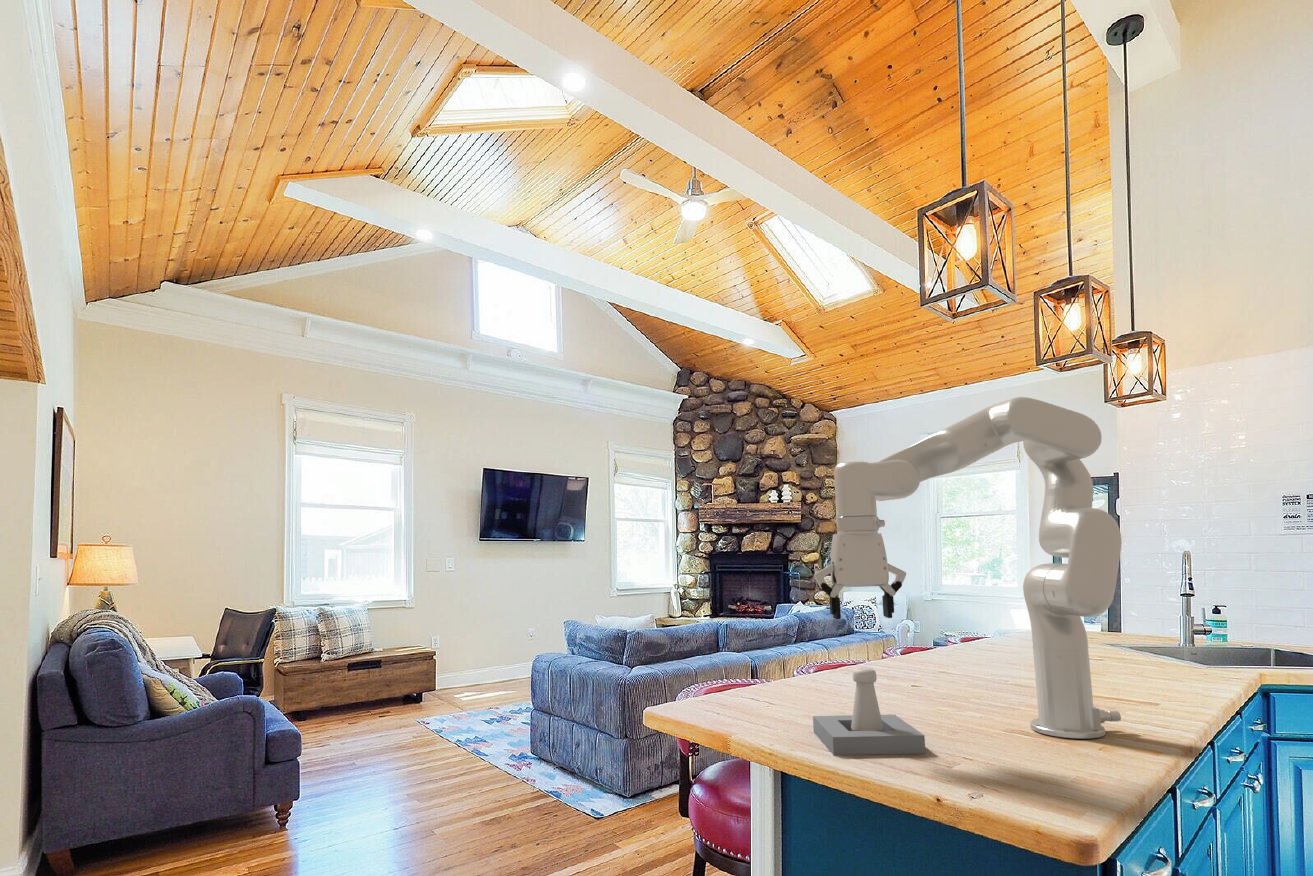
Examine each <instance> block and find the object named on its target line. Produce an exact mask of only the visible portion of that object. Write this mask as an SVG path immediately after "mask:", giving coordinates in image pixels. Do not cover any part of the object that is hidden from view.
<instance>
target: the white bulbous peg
mask: <svg viewBox="0 0 1313 876" xmlns="http://www.w3.org/2000/svg"><path fill="white" fill-rule="evenodd" d="M852 681H854V683H855V682H856V684H855V685H856V686H855V694H854V700H853V710H852V715H853V716H852V724H851V729H852V731H883V730H884V729H883V724H882V720H881V715H882V714H881V710H880V707H879V703H878V698H877V693H876V689H875V684H874V683H876V682H877V671H876V670H875V669H873V668H869V667H857V668H855V669H853V671H852Z"/></svg>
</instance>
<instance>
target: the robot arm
mask: <svg viewBox="0 0 1313 876" xmlns="http://www.w3.org/2000/svg"><path fill="white" fill-rule="evenodd" d="M1102 440H1103V439H1102V431H1101V428H1100V427H1099V426H1098V424H1097V423H1096V421H1094V420H1093V419H1092V418H1091V417H1089V416H1087V415H1086V414H1083V413H1081V412H1078V411H1075V410H1071V409H1067V408H1064V407H1062V406H1059V405H1056V404H1052V403H1049V402H1046V401H1043V400H1040V399H1035V398H1032V397H1024V396H1017V397H1014V398H1010V399H1006V400H1004V401H1000V402H998V403H994V404H992V405H990V406H987V407H984V408H983V409H981V410H979V411H977V412H975V413H974V414H971V415H969V416H967V417H966V418H964V419H962V420H960V421H957V422H956V423H954V424H952V425H950V426H947V427H946V428H943V429H941V430H938V432H935V433H932V434H931V435H929V436H927V437H925V438H923V439H922V440H920V441H918V442H916V443H914V444H912V445H910V446H908V447H905V448H903V449H901V450H899V451H897V452H896V453H895V452H894V453H893V454H891V455H889V456H887V457H885V458H883V459H881V460H879V461H875V462H868V461H846V462H841V463H838V464H836V465H835V467H834V471H833V473H834V474H833V476H834V493H835V494H834V495H835V497H834V498H835V511H836V529H837V530H836V531H837V533H833V534H832V540H831V547H830V549H831V550H830V564H829V565H826V567H824V568H822V569H820V570H819V571H817V572H815V573H814V574H813V576H814V579H815V581H816V583H817V584H818V586H819V588H820V589H821V590H822V591H823V592H824V593H825V594H826V595H827V597H828V598H829V610H830V611H829V612H830V615H832V618H833V619H834V620H835V619H836V620H840V619H841V618H842V613H841V599H840V597H839V595H838V594H839V593H840V592H841V591H842V589H844V588H851V587H852V588H860V587H861V588H863V587H879V588H880V590H881V591H882V592H883V595H882V596H881V597H882V611H883V612H882V613H883V614H882V615H883V617H885V618H888V619H892V618H893V614H894V613H895V603H894V602H895V601H894V600H895V599H894V596H896V593H897V592H898V591H899V590H900V589H901V587H902V586H903V583H904V581H905V578H906V577H907V572H906V571H905V570H902V569H900V568H898V567H896V566H894V565H893V564H890V563H888V557H887V551H886V546H885V543H884V538H883V536H882V533H881V532H879V530H880V528H884V527H885V526H886V522H885V519H880V518H879V516H878V513H877V512H878V511H877V510H878V509H877V501H878V502H885V501H893V500H900V499H905V498H908V497H909V496H912V495H913V494H915V492H916V491H917V490H918V488H919V486H920V483H921V482H924V481H926V480H929V479H932V478H936V477H940V476H944V475H947V474H952V473H954V472H956V471H960V470H961V469H964V468H967V467H969V466H970V465H972V464H975V463H976V462H977V461H980V460H981V459H982V460H983V459H984V458H985V457H988V456H990V455H991V454H993V453H995V452H997V451H999V450H1001V449H1003V448H1005V447H1007V446H1009V445H1012V444H1014V443H1020V442H1022V445H1023V449H1024V451H1025V453H1026V455H1027V456H1028V457H1029V459H1030V460H1031V462H1033V464H1035V466H1037V468H1038V469H1039V471H1040V473H1041V475H1042V477H1043V479H1044V497H1043V505H1042V510H1041V517H1040V524H1039V530H1038V542H1039V545H1040V547H1041V549H1042V550H1043V551H1044V552H1045V553H1046V554H1048V555H1051V557H1052V556H1053V557H1057V558H1061V559H1062V558H1063V559H1067V563H1056V562H1055V563H1054V562H1051V563H1050V562H1049V563H1043V564H1042V563H1041V564H1038V565H1036V566H1034V567H1032V568H1031V569H1030V570H1029V571H1028V572H1027V574H1026V575H1025V577H1024V580H1023V585H1022V590H1023V591H1022V592H1023V596H1024V602H1025V604H1026V608H1027V609H1026V610H1027V613H1028V616H1029V621H1030V627H1031V628H1030V629H1031V636H1032V637H1031V640H1032V651H1033V652H1032V653H1033V654H1032V655H1033V664H1034V666H1033V667H1034V676H1035V688H1036V689H1035V690H1036V703H1037V712H1038V715H1037V716H1038V717H1037V718H1034V719H1032V720H1030V723H1029V724H1030V728H1031V729H1032V730H1033V731H1034V732H1037V733H1039V734H1043V735H1046V736H1051V737H1057V738H1066V739H1083V740H1084V739H1097V738H1102V737H1103V736H1105V735H1106V728H1105V726H1103V725H1102V724H1104V723H1105V722H1109V723H1110V722H1121V719H1122V716H1121V713H1120V711H1118V710H1107V711H1105V709H1100V708H1098V707H1096V706H1094V698H1093V697H1094V696H1093V688H1092V687H1093V686H1092V677H1091V666H1090V665H1091V664H1090V654H1089V640H1088V634H1087V631H1086V627H1085V625H1084V622H1083V620H1082V618H1081V617H1083V618H1094V617H1098V616H1100V615H1103V614H1104V613H1105V612H1107V610H1108V609H1109V608H1110V606H1111V605H1112V603H1113V600H1114V596H1115V593H1116V587H1117V582H1118V581H1117V579H1118V573H1119V566H1120V559H1121V551H1122V533H1121V530H1120V527H1119V524H1118V523H1117V520H1115V518H1114V517H1113V516H1112V515H1111V514H1110V513H1108V512H1107V511H1105V510H1103V509H1101V508H1094V507H1093V499H1094V496H1093V495H1094V482H1093V479H1092V477H1091V474H1090V472H1089V470H1088V468H1087V467H1086V465H1085V464H1084V463H1083V462H1082V459H1086V458H1088V457H1090V456H1092V455H1094V453H1096V452H1097V450H1098V449H1100V446H1101V443H1102ZM890 573H891V574H893V575H894V576H895V579H894V581H893V582H892V583H891V584H889V580H890V579H889V578H890V575H889V574H890ZM828 575H830V580H831V583H832V585H831V586H830V585H829V584H828V583H827V582H826V580H825V577H826V576H828Z"/></svg>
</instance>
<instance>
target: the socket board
mask: <svg viewBox="0 0 1313 876" xmlns="http://www.w3.org/2000/svg"><path fill="white" fill-rule="evenodd" d="M880 715H881V720H882V724H883V729H884V730H883V731H852V729H851V724H852V716H853V714H852V715H847V714H846V715H812V721H813V723H812V724H813V725H812V727H813V729H812V730H813V733H814V734H815V735H816V737H817V738H818V739H819V740H820V742H821V743H822V744H823V745H824V746H825V747H826V748H827V749H828V750H829V752H830V753H831V754H832V755H833V756H855V755H856V756H857V755H858V756H860V755H904V754H905V755H908V754H909V755H912V754H913V755H914V754H915V755H917V754H919V755H920V754H926V739H925V737H926V736H925V735H924V734H923V733H922V732H921V731H919V730H918V729H916V728H914V727H913V726H912V725H911V724H909V723H908V722H906V721H905V720H903V719H902V718H901V717H899V716H898V715H896V714H880Z"/></svg>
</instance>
